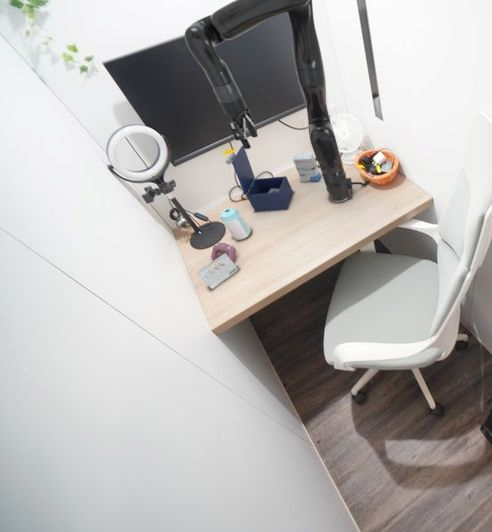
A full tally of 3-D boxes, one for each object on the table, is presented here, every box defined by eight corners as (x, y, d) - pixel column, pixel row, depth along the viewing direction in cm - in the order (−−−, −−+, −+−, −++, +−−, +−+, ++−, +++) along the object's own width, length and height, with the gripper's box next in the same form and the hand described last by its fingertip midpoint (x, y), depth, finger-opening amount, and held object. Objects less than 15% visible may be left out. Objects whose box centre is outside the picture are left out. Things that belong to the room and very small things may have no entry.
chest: (293, 192, 147) (286, 176, 141) (287, 209, 139) (279, 192, 133) (263, 195, 148) (254, 179, 142) (255, 212, 141) (246, 195, 134)
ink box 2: (321, 175, 154) (313, 153, 145) (318, 181, 151) (310, 159, 142) (304, 175, 155) (295, 153, 146) (301, 181, 152) (292, 159, 143)
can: (230, 239, 130) (214, 217, 121) (241, 227, 134) (226, 205, 125) (244, 241, 128) (229, 219, 119) (254, 230, 133) (240, 207, 123)
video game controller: (240, 260, 124) (237, 244, 121) (230, 265, 120) (227, 247, 117) (220, 256, 127) (217, 239, 124) (210, 260, 123) (206, 243, 120)
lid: (243, 145, 130) (231, 145, 130) (233, 162, 122) (220, 161, 122) (255, 178, 141) (243, 177, 141) (246, 195, 134) (234, 194, 133)
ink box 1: (208, 286, 115) (192, 269, 107) (235, 267, 120) (222, 249, 112) (212, 290, 113) (196, 272, 106) (239, 270, 118) (225, 252, 111)
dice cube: (280, 205, 141) (275, 196, 137) (270, 204, 142) (265, 195, 138) (285, 198, 144) (281, 188, 140) (275, 197, 145) (271, 188, 141)
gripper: (233, 104, 101) (255, 151, 114) (247, 87, 111) (266, 132, 123) (210, 107, 102) (235, 153, 114) (226, 89, 111) (248, 134, 124)
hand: (251, 142), depth 119 cm, fingers open, 8 cm apart
